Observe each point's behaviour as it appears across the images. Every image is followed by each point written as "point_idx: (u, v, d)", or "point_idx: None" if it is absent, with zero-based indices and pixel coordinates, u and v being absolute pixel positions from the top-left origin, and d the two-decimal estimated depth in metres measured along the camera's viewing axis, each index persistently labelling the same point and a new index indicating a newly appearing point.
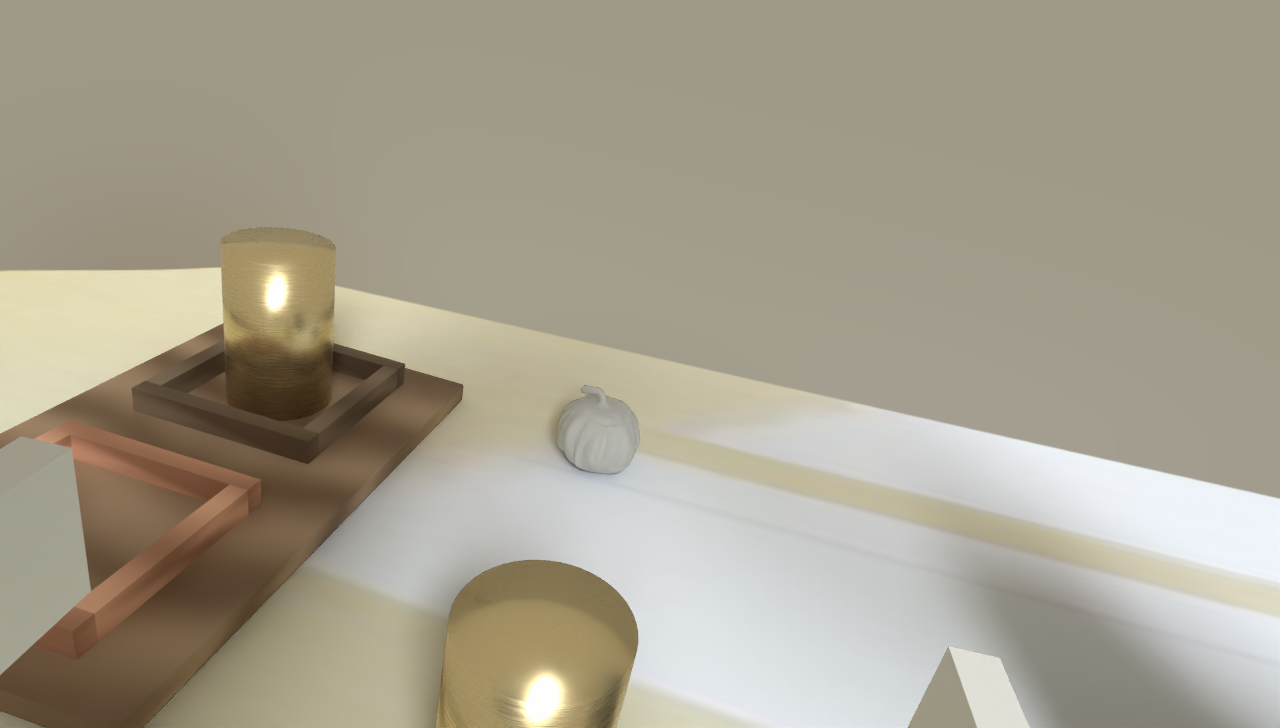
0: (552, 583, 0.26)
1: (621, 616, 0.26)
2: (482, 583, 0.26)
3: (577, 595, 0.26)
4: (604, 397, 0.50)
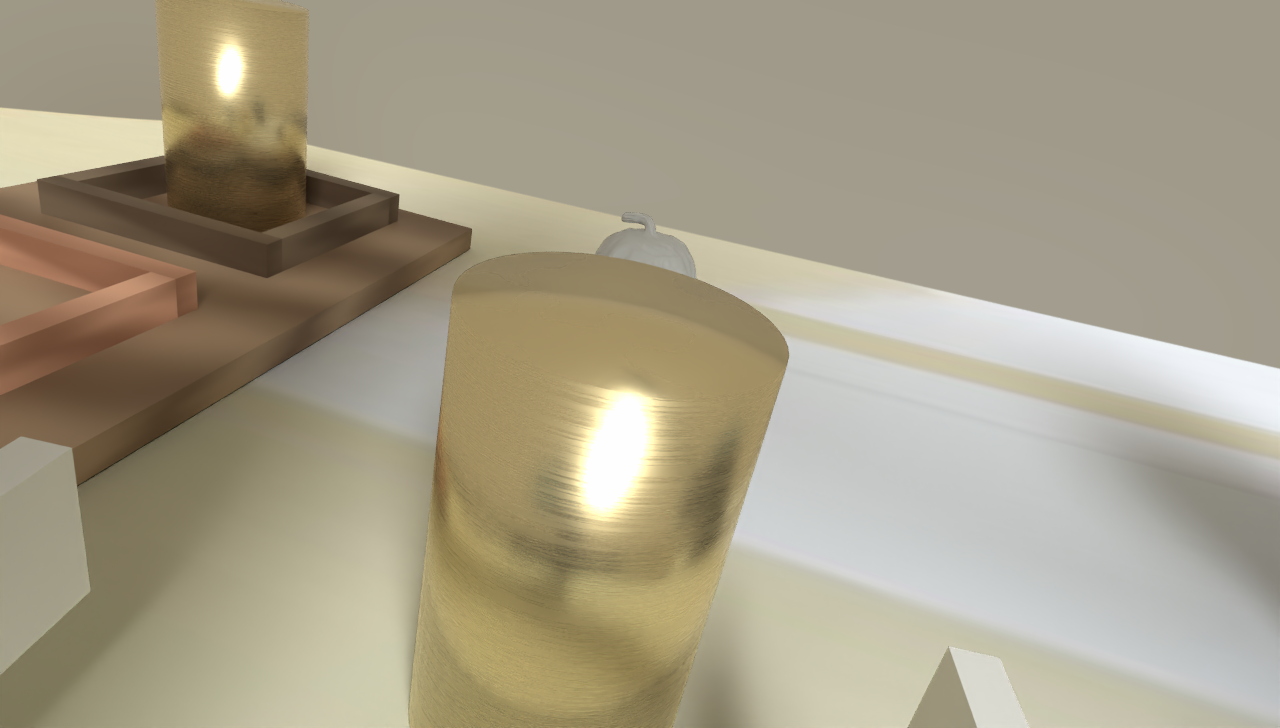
0: (628, 277, 0.16)
1: (750, 320, 0.15)
2: (511, 263, 0.15)
3: (672, 292, 0.15)
4: (652, 225, 0.39)
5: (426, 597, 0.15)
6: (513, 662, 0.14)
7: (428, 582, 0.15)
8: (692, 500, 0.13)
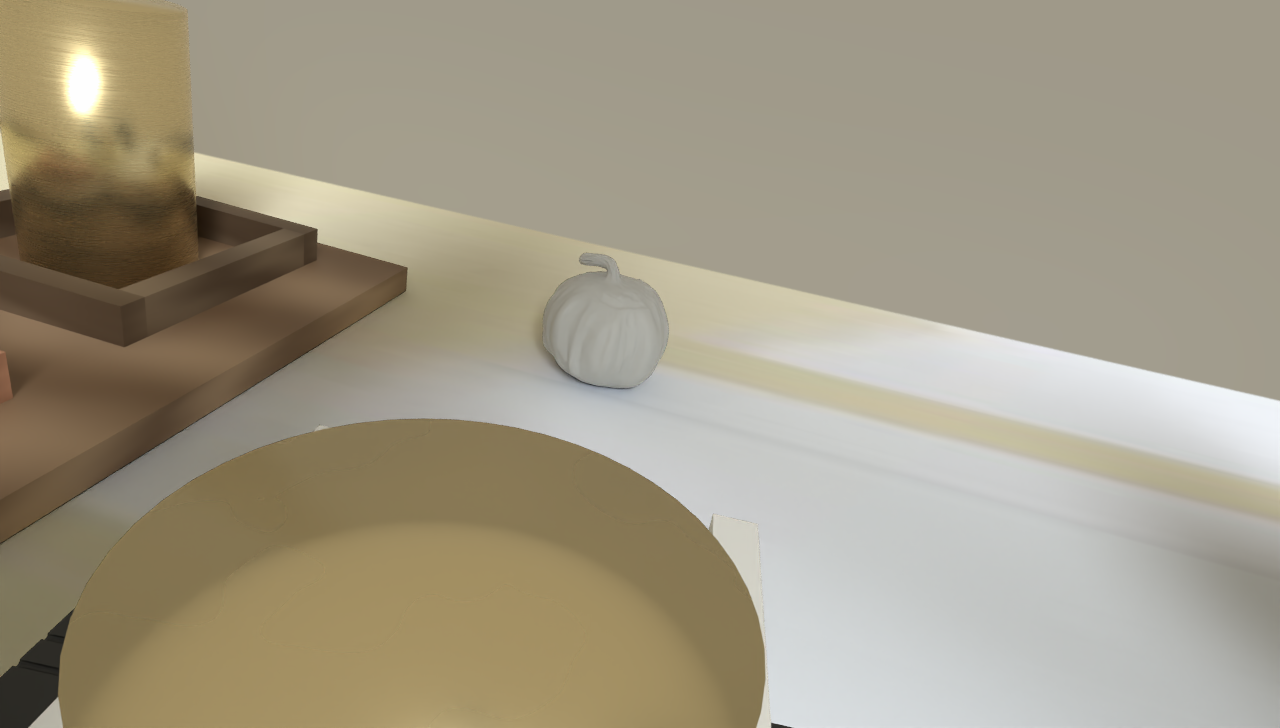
0: (492, 474, 0.09)
1: (698, 568, 0.08)
2: (272, 465, 0.08)
3: (564, 507, 0.09)
4: (615, 269, 0.32)
5: None
6: None
7: None
8: None
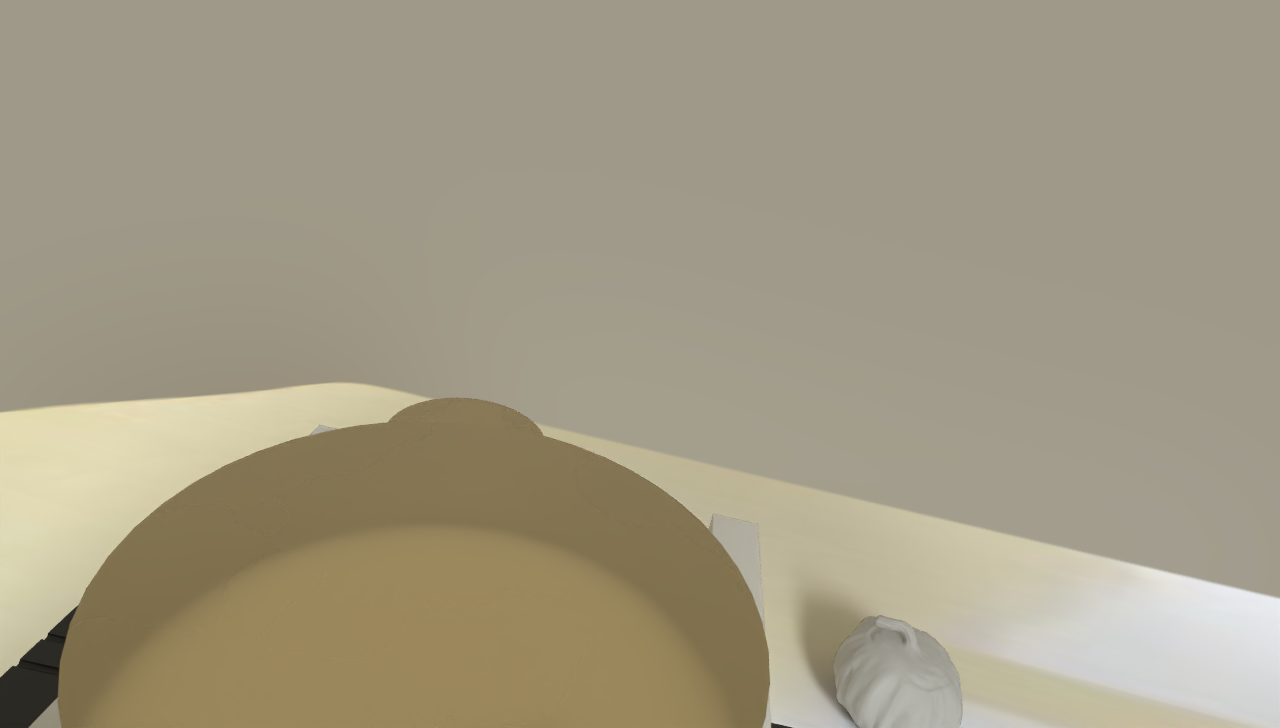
0: (494, 477, 0.09)
1: (701, 572, 0.08)
2: (274, 468, 0.08)
3: (567, 510, 0.09)
4: (914, 638, 0.34)
5: None
6: None
7: None
8: None
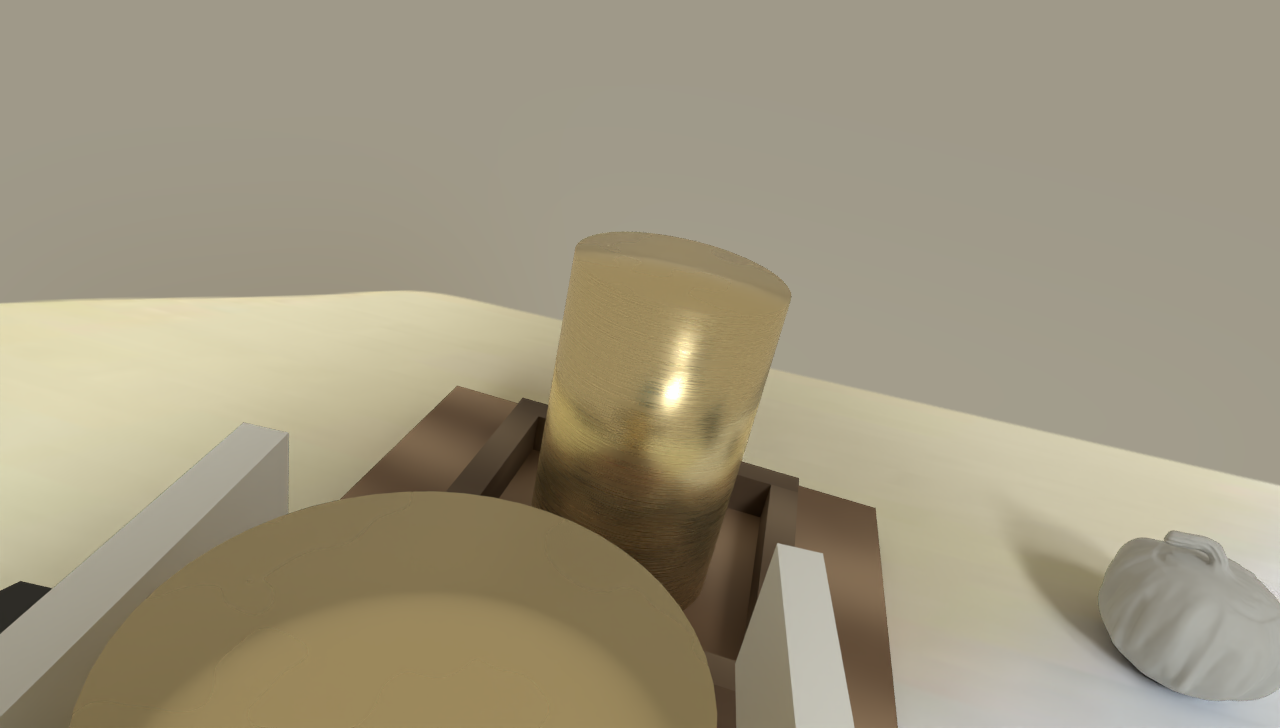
0: (468, 547, 0.10)
1: (660, 636, 0.09)
2: (262, 546, 0.09)
3: (535, 578, 0.09)
4: (1225, 557, 0.26)
5: None
6: None
7: None
8: None
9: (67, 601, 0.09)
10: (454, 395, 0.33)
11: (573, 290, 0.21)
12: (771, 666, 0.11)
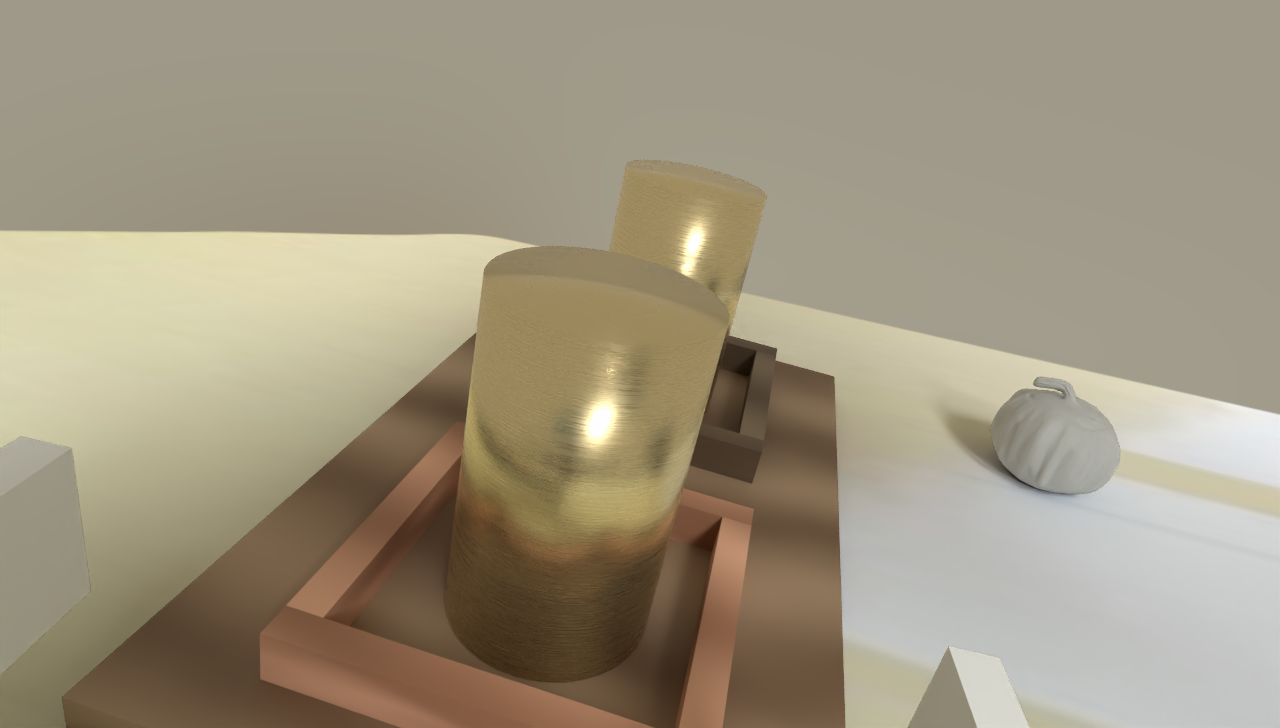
0: (612, 265, 0.21)
1: (703, 296, 0.20)
2: (524, 255, 0.20)
3: (645, 276, 0.20)
4: (1073, 392, 0.37)
5: (461, 506, 0.20)
6: (529, 546, 0.19)
7: (463, 494, 0.20)
8: (657, 423, 0.18)
9: None
10: None
11: (625, 191, 0.32)
12: None
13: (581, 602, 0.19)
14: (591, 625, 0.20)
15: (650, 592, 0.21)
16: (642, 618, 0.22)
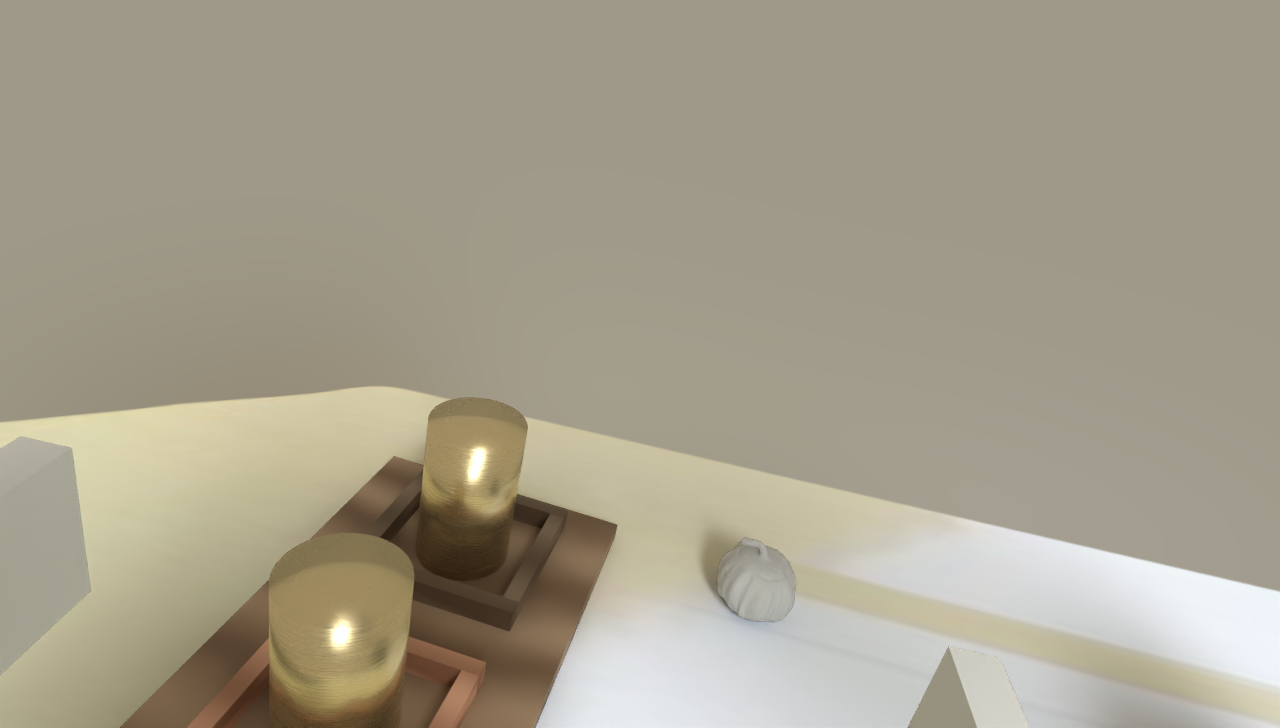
0: (358, 549, 0.36)
1: (404, 572, 0.35)
2: (304, 548, 0.36)
3: (375, 557, 0.36)
4: (765, 550, 0.53)
5: (269, 689, 0.36)
6: (298, 719, 0.34)
7: (269, 683, 0.35)
8: (359, 659, 0.33)
9: None
10: (391, 462, 0.59)
11: (427, 433, 0.47)
12: None
13: None
14: None
15: None
16: None
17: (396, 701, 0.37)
